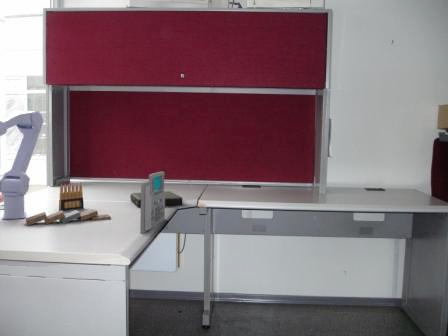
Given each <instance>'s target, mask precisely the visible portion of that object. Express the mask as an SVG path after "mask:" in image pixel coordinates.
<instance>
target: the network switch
mask: <svg viewBox="0 0 448 336" xmlns="http://www.w3.org/2000/svg"><path fill="white" fill-rule="evenodd" d="M164 193H165V206H167V207H181V206H183V197H182V196H181V195H178V194H177V193H174V192H172V191H170V190H169V191H168V190H167V191H164ZM130 202H132V204H134V205H135V206H136V207H137V208H139V209H141V192H131V194H130Z"/></svg>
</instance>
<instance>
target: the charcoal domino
mask: <svg viewBox="0 0 448 336" xmlns="http://www.w3.org/2000/svg"><path fill="white" fill-rule="evenodd" d="M80 213H81V212H80V211H79V210H78V209H76V210H71V211H69V212H67V213H65V214H64V216H65V217H64V218H61V219H59V220H58V221H59V222H60V223H62V224H66V223H68V222H70V221H73V220H77V219H76V218H78V217H81V215H80Z"/></svg>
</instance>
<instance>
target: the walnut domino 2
mask: <svg viewBox="0 0 448 336" xmlns="http://www.w3.org/2000/svg"><path fill="white" fill-rule="evenodd" d="M46 216H47V219H45V220H43V221H44V223H45V225H49V224H51V223H54V222H56V221H59V219H61V218H64V217H65V216H64V211H62V210H61V211H59V210H58V211H57V212H54V213H51V214H49V215H46Z"/></svg>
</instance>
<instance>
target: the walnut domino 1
mask: <svg viewBox="0 0 448 336" xmlns="http://www.w3.org/2000/svg"><path fill="white" fill-rule="evenodd" d="M47 216H48V215H47V214H46V212H45V211H44V212H40V213H38V214H34V215H32V216H29V217H25V224H26V226H28V227H29V226H31V225H33V224H36V223H39V222H42V221H44V220H45V219H47Z"/></svg>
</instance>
